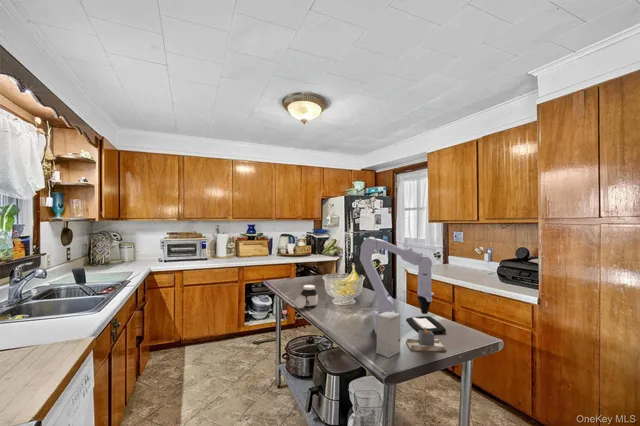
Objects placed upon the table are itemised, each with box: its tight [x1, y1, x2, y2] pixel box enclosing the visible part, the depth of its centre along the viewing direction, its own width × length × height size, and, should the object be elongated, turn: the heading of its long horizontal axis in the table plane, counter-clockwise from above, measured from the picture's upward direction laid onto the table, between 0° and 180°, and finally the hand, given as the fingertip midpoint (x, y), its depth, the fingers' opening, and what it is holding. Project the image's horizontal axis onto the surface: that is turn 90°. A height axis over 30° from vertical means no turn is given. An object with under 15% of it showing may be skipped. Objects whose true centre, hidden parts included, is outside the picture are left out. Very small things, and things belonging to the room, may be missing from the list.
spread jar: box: [295, 284, 319, 309], centre depth 170 cm, size 12×11×12 cm
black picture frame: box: [406, 315, 447, 335], centre depth 141 cm, size 20×3×14 cm
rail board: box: [405, 337, 447, 352], centre depth 118 cm, size 14×7×2 cm, turn 87°
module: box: [418, 329, 435, 345], centre depth 118 cm, size 5×4×6 cm
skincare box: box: [376, 311, 401, 359], centre depth 113 cm, size 8×6×15 cm
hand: (424, 313), depth 129 cm, fingers closed
